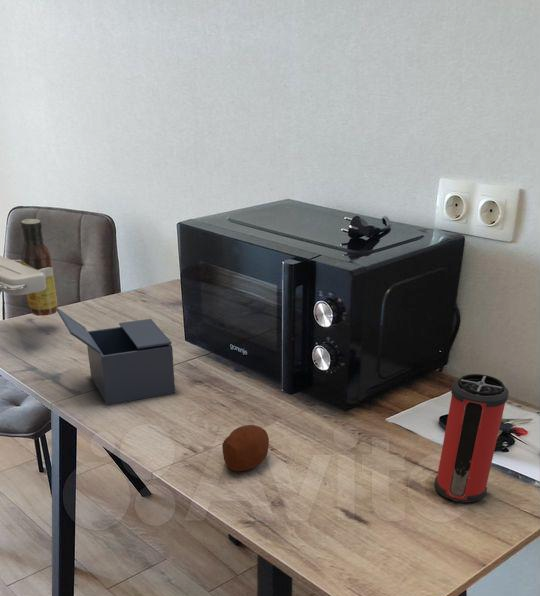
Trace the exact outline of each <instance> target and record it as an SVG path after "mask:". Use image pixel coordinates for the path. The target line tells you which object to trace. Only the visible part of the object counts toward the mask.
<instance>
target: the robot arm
mask: <svg viewBox="0 0 540 596" xmlns="http://www.w3.org/2000/svg"><path fill="white" fill-rule="evenodd" d="M53 274H54V269H53V270H52V268H51V267H48V266H46V267H41V269H40V270H35V269H33V268H30V267H28V266H25V265H23V264H22V262H21V259H10V258H8V257H5V256H4V255H3V256H2V255H0V294H1V293H2V292H4V293H6V294H9V295H11V296H24V295H27V294H31V293H36V292H41V291H44V290H45V289H46V280H45V278H46V277H49V276H52V275H53Z"/></svg>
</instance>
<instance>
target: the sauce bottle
mask: <svg viewBox="0 0 540 596" xmlns="http://www.w3.org/2000/svg"><path fill="white" fill-rule="evenodd" d="M20 225H21V229H22V234H23V246H22V253H21V258H20V260H21V262H22V264H23V265H25V266H28V267H30V268H33V269H35V270H40V269H41V267H46V266H48V267H51V268H52V270H53V271H54V267H53V264H52V258H51V257H52V256H51V253H50V250H49V249H48V247H47V246H46V244H44V237H43V233H42V228H43V225H42V221H41V220H40V219H37V218H26V219H22V220H21V221H20ZM45 280H46V289H45V290H44V291H41V292H36V293H31V294H26V299H27V304H28V308H29V312H30V313H31V314H32V315H35V316H38V317H39V316H40V317H41V316H43V317H44V316H50V315H51V316H52V315H54V314H56V313H57V310H56V309H57V308H58V298H57V291H56V290H57V289H56V283H55V275H54V273H53V275H52V276H49V277H46V278H45Z"/></svg>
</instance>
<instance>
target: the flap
mask: <svg viewBox="0 0 540 596" xmlns="http://www.w3.org/2000/svg"><path fill="white" fill-rule="evenodd" d="M56 310H57V311H56V313H58V315H59V317H60V319H61V321H62V322H63V324H64V326H65V327H66V329H67V330H68V332H69V334H70V335H71V336H73V337H74V338H76V339H77V340H78V341H80V342H82V343H83V344H84V345H86V346H87V345H88V346H89V347H90V348H92V349H93V350H95V351H96V352H98V353H99V354H100V353H101V351H100V350H99V348H98V346H97V345H96V343H95V342H94V340H93V339H92V337H91V336H90V334H89V333H88V331H89V330H87V328H86V327H85V326H84V325H83V324H81V323H80V322H79V321H77V320H76V319H74V318H72V317H71V316H70V315H68V314H67V313H66V312H64V311H63V310H61V309H60V308H58V307H57V309H56Z"/></svg>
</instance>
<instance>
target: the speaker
mask: <svg viewBox="0 0 540 596" xmlns="http://www.w3.org/2000/svg"><path fill="white" fill-rule="evenodd" d="M450 393H451V398H450V403H449V409H448V414H447V420H446V425H445V431H444V435H443V442H442V447H441V452H440V458H439V464H438V470H437V475H436V477H435V479H434V488H435V490H436V491H437V492H438V493H439V494H440V495H441V496H442V497H444V498H446V499H448V500H451V501H454V502H456V503H462V504H465V503H473V502H477V501H480V500H482V499H483V498H484V497H485V496H486V494H487V490H488V487H487V485H488V481H489V475H490V471H491V467H492V464H493V463H492V462H493V459H494V454H495V450H496V445H497V441H498V437H499V432H500V428H501V424H502V419H503V414H504V410H505V406H506V403H507V402H508V400H509V399H508V398H509V393H510V391H509V389H508V388H507V387H506V386H505V384H504V383H503V381H501V380H500V379H498V378H496V377H494V376H491V375H487V374H481V373H471V374H466V375H463V376H460V378H458V379H456V380H455V381H454V382H452V385H451V390H450Z"/></svg>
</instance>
